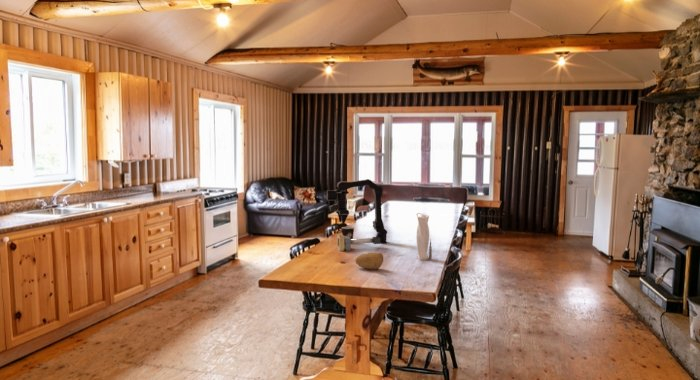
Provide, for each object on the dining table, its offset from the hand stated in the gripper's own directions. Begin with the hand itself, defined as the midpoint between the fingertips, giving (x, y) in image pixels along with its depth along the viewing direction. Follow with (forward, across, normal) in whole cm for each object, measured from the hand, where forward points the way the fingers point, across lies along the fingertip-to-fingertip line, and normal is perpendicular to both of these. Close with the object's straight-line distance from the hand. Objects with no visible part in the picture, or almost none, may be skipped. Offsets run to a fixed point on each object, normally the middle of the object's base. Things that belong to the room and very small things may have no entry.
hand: (341, 222), depth 317 cm
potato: (+15, +65, +1) cm, 67 cm away
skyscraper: (+15, +51, +38) cm, 66 cm away
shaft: (+12, +16, +11) cm, 23 cm away
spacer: (+15, +16, -4) cm, 22 cm away
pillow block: (+15, +16, 0) cm, 22 cm away
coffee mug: (+15, -7, +4) cm, 17 cm away
